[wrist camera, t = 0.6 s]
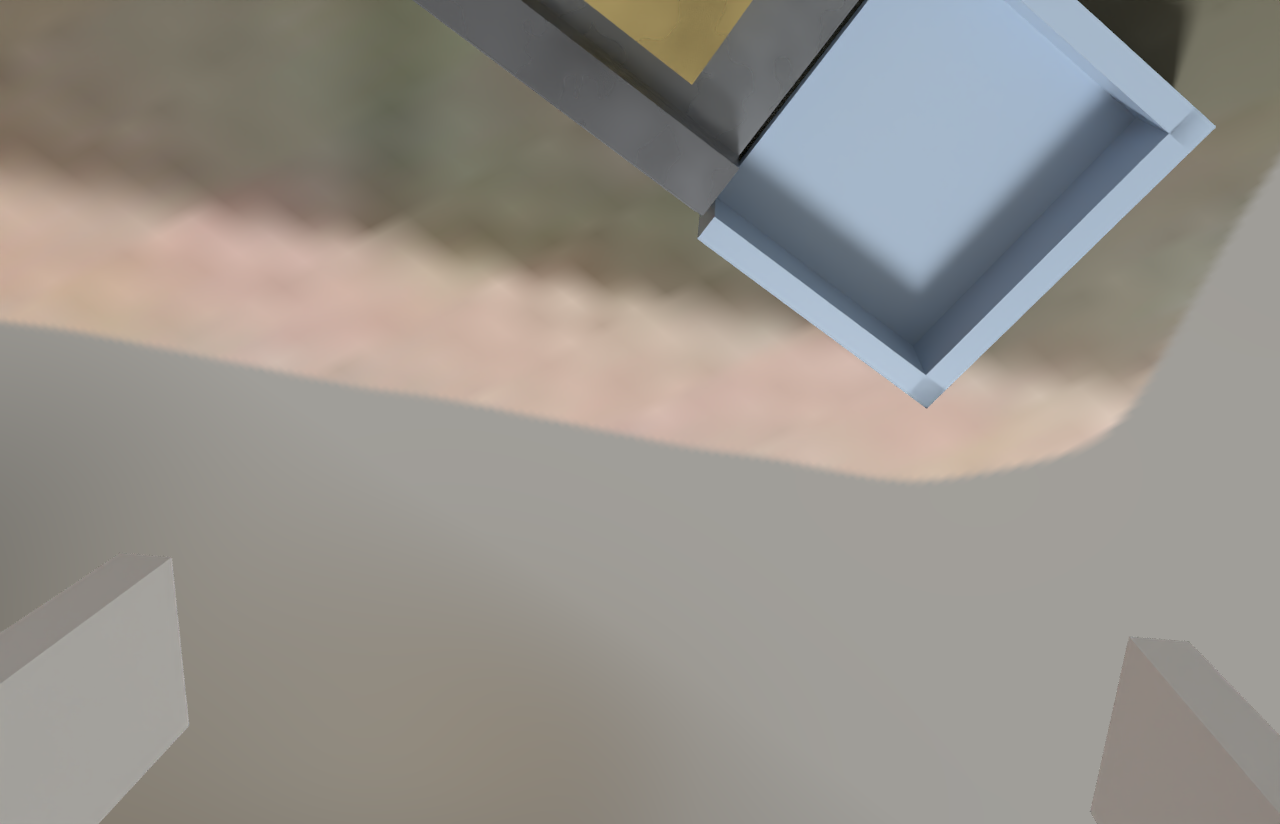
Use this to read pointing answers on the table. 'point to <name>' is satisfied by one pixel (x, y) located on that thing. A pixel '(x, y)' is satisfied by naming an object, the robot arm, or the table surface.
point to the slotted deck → (652, 79)
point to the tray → (946, 175)
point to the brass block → (676, 28)
